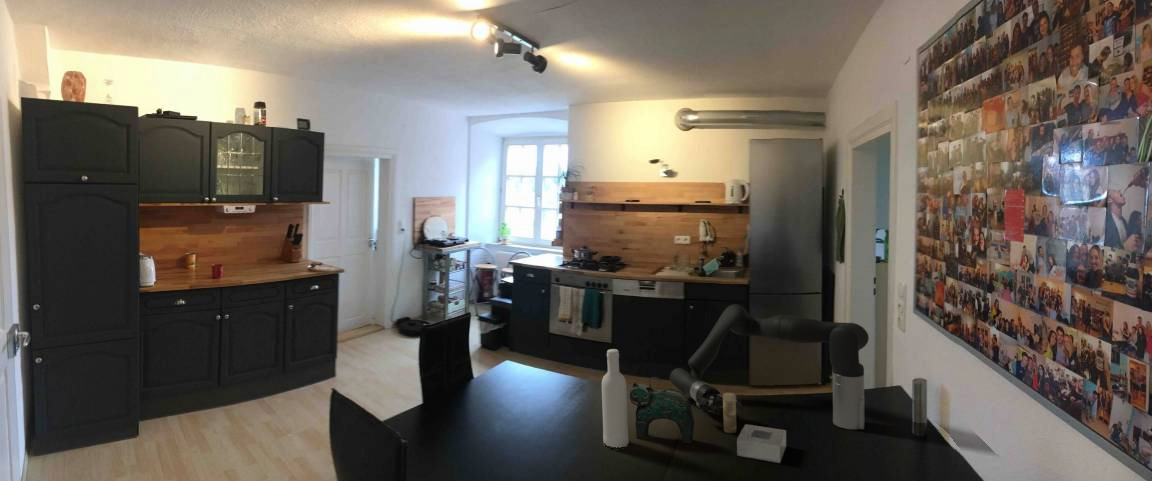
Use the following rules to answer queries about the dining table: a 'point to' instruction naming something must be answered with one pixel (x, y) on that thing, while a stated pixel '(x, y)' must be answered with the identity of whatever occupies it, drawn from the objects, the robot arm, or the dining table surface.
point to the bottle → (614, 403)
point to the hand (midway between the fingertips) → (730, 410)
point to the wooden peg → (729, 412)
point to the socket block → (761, 443)
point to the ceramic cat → (661, 409)
